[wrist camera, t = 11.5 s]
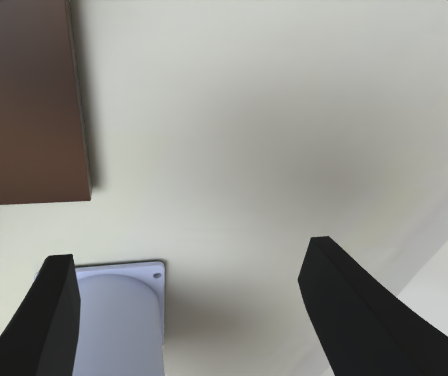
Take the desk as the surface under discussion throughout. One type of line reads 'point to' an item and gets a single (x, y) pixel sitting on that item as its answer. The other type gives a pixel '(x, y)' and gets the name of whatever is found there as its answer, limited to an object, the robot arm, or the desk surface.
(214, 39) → the desk surface
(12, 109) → the walnut board
